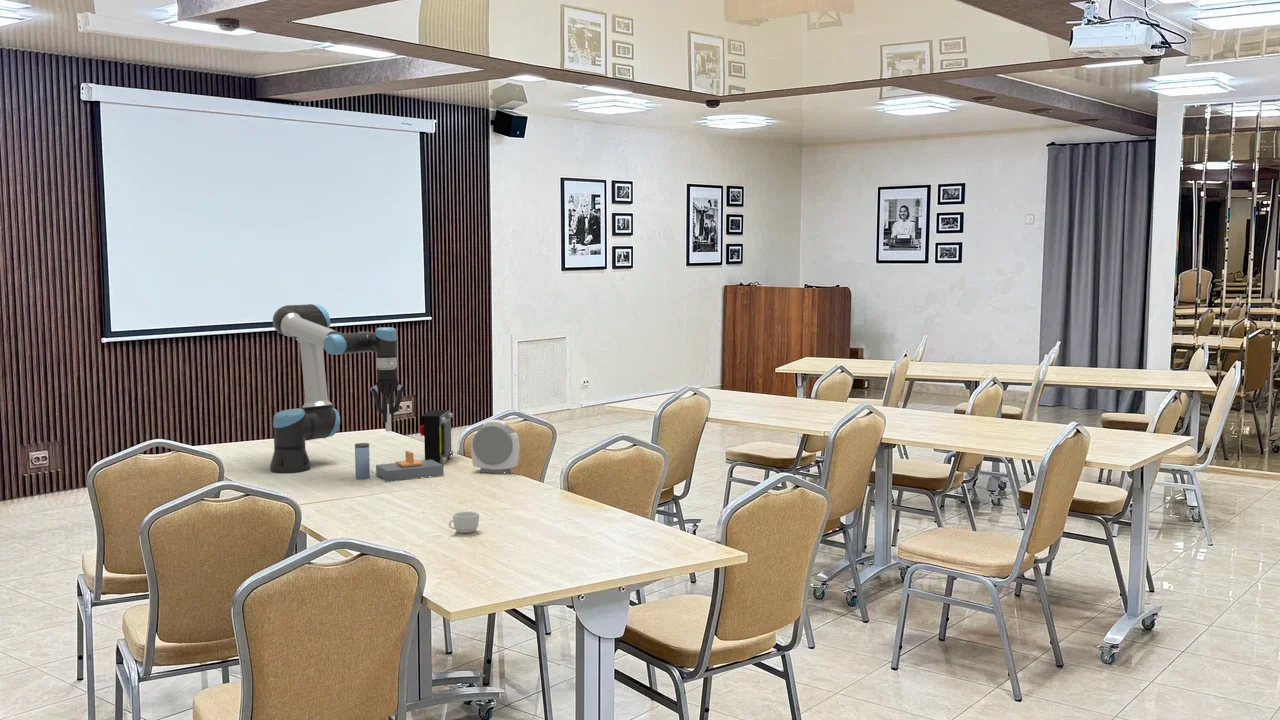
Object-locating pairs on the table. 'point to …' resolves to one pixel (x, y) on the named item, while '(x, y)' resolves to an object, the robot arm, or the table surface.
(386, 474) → the socket block
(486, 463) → the alarm clock
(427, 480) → the table surface
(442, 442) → the electrical component
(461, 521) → the teacup
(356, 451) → the blue canister
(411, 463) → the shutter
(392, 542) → the table surface
